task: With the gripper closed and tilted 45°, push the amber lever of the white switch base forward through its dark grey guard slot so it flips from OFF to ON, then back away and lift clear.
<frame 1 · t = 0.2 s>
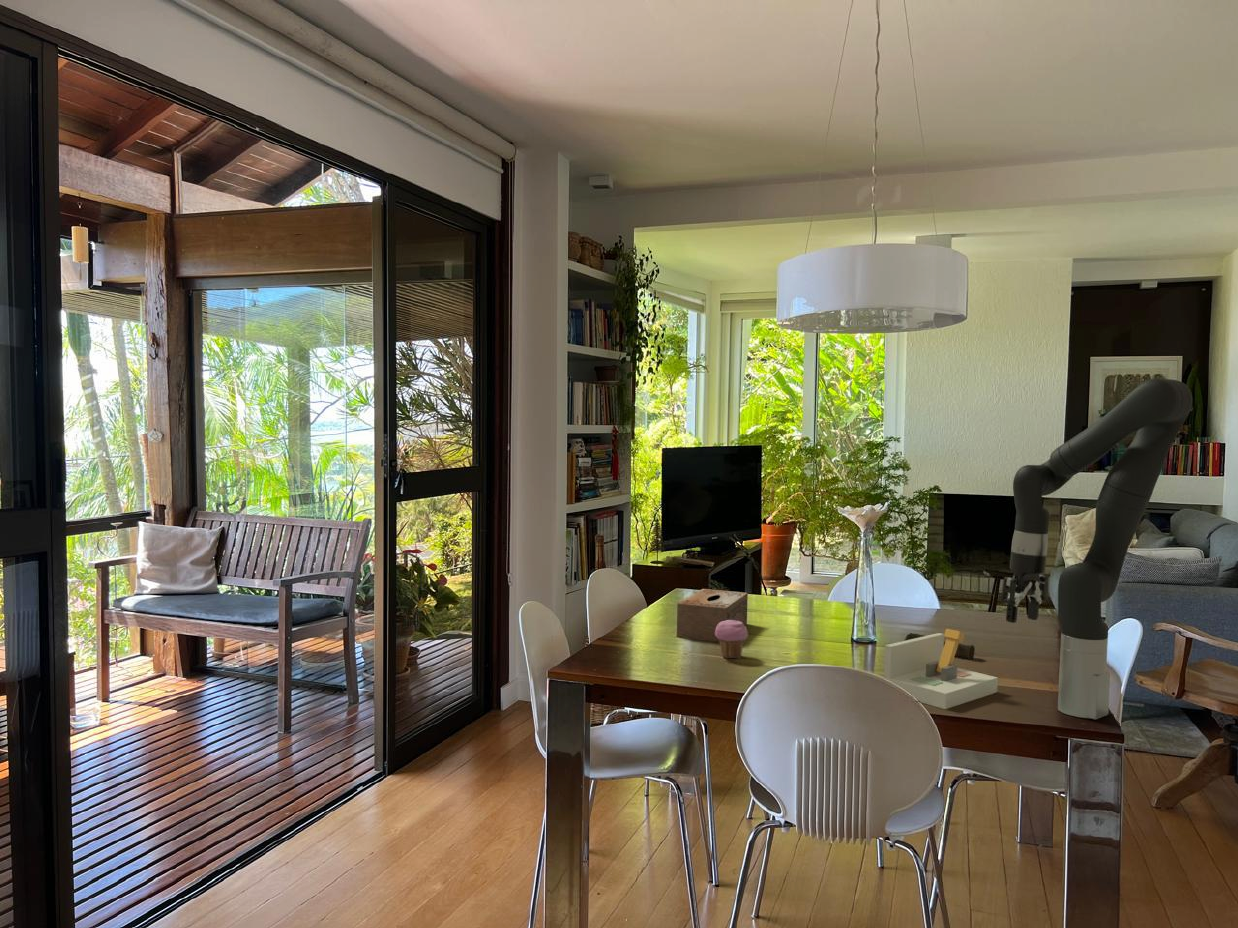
hand: (1021, 620, 214), 18 cm above the table, tool pointing down, fingers open, 8 cm apart
tissue box cover: (712, 631, 277), on the table
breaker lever: (949, 652, 219), point 9 cm above the table, hinge at -28.0°
white switch base: (940, 691, 218), on the table
cupcake: (730, 657, 246), on the table
hand tool: (937, 655, 254), on the table
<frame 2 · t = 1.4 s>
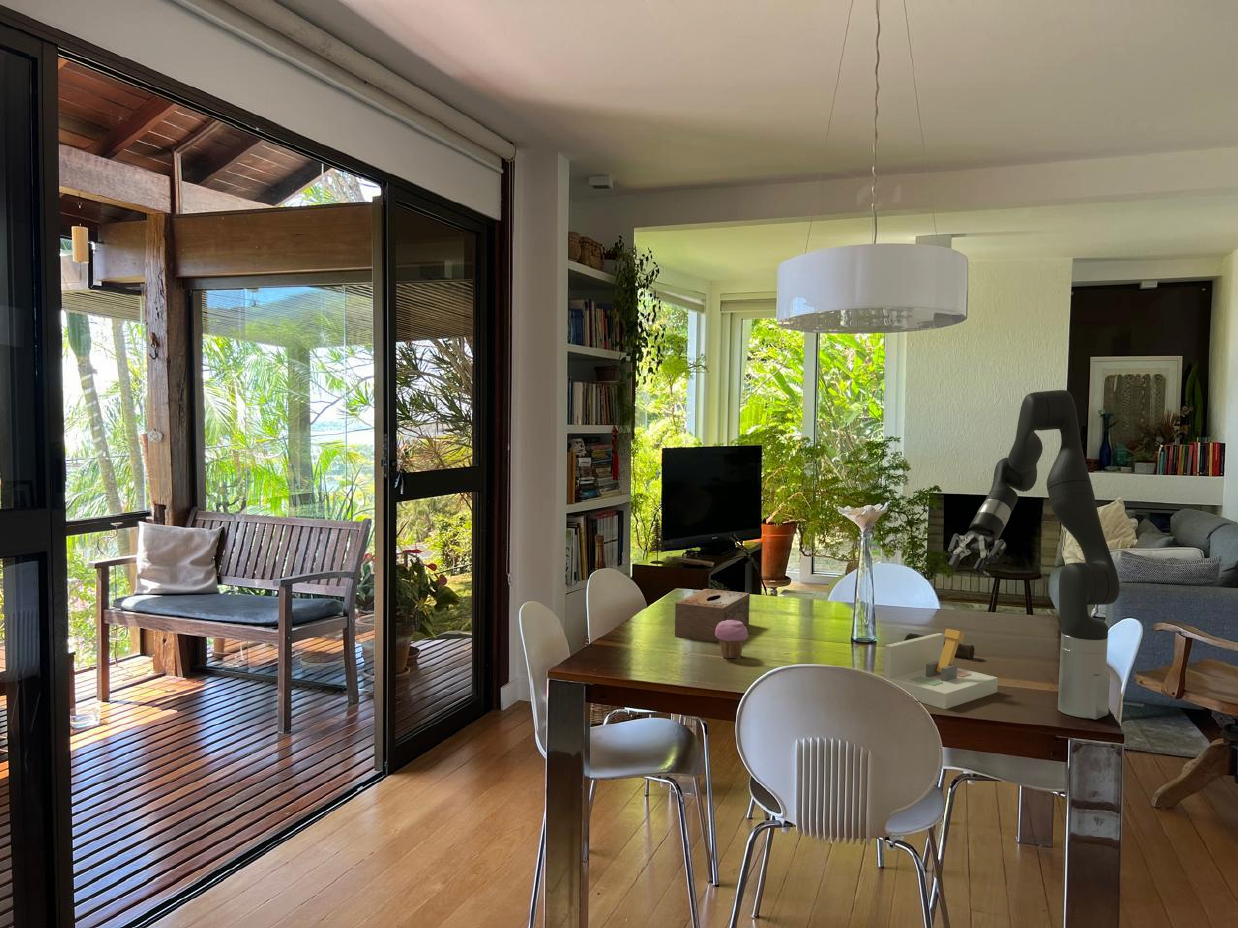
hand: (963, 570, 233), 26 cm above the table, tool tilted 45°, fingers open, 6 cm apart
nothing on the table moved.
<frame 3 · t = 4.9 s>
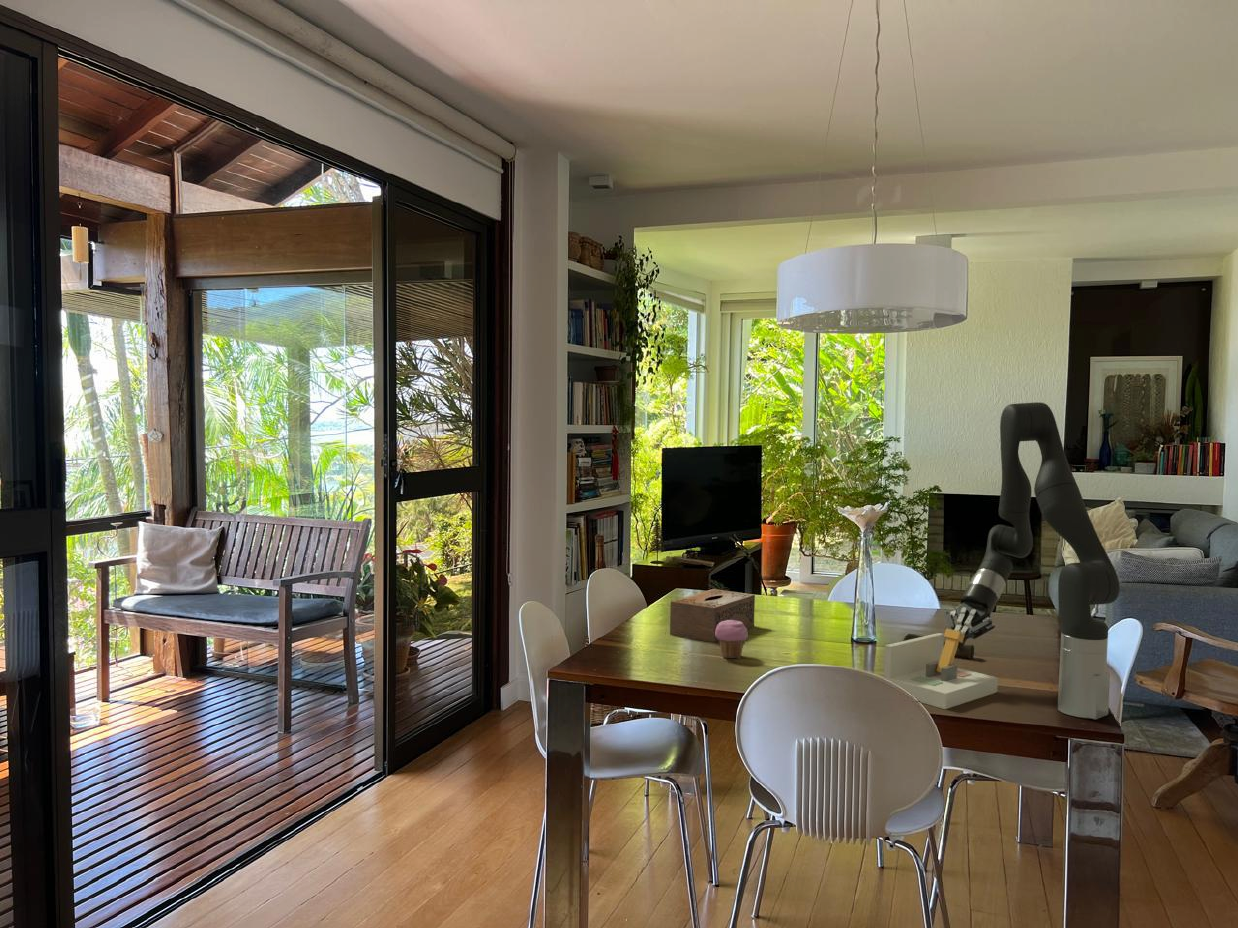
hand: (954, 648, 221), 10 cm above the table, tool tilted 45°, fingers closed
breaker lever: (949, 652, 219), point 9 cm above the table, hinge at -27.9°, touching gripper
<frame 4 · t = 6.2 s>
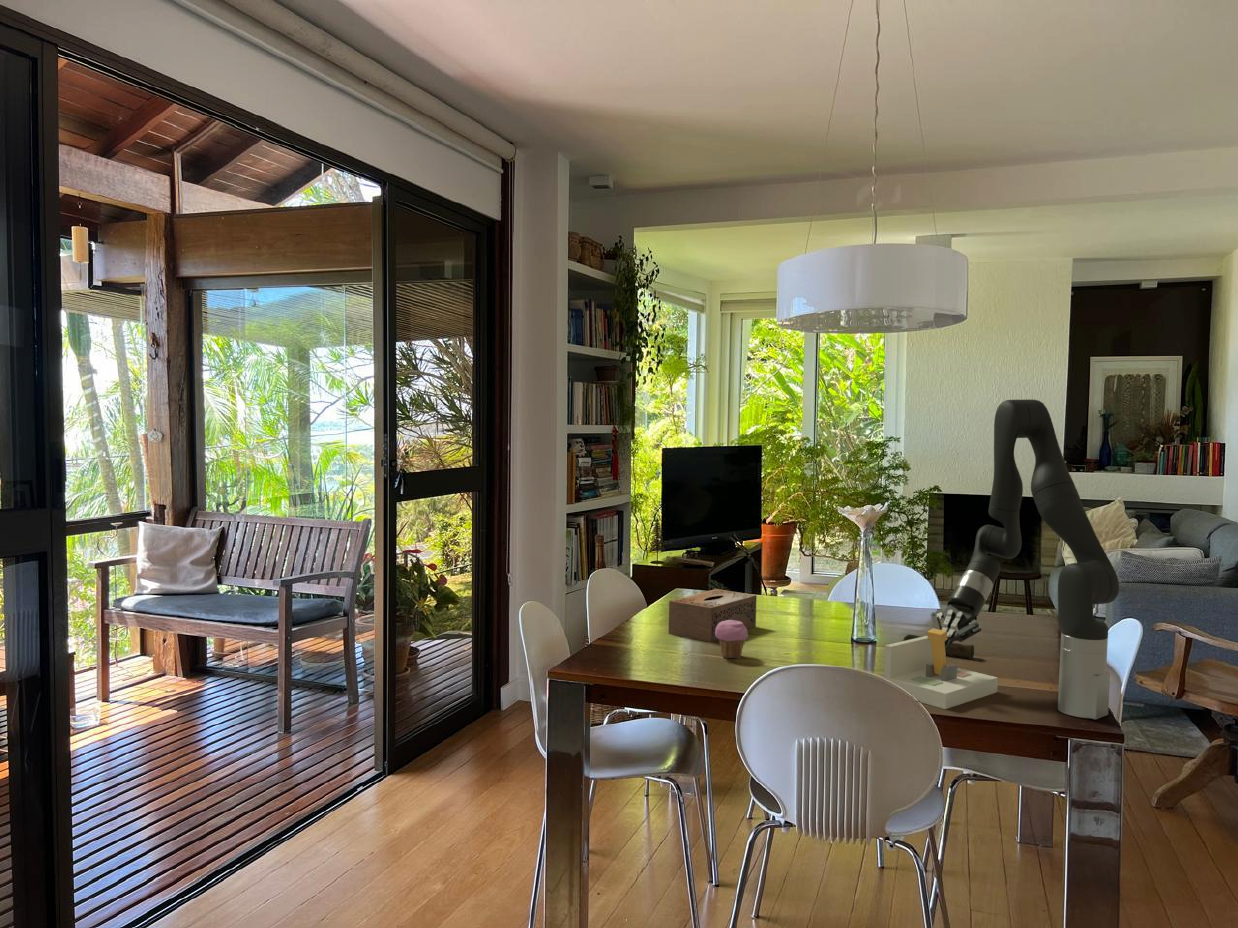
hand: (940, 651, 218), 10 cm above the table, tool tilted 45°, fingers closed
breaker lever: (938, 652, 217), point 10 cm above the table, hinge at 12.7°, touching gripper
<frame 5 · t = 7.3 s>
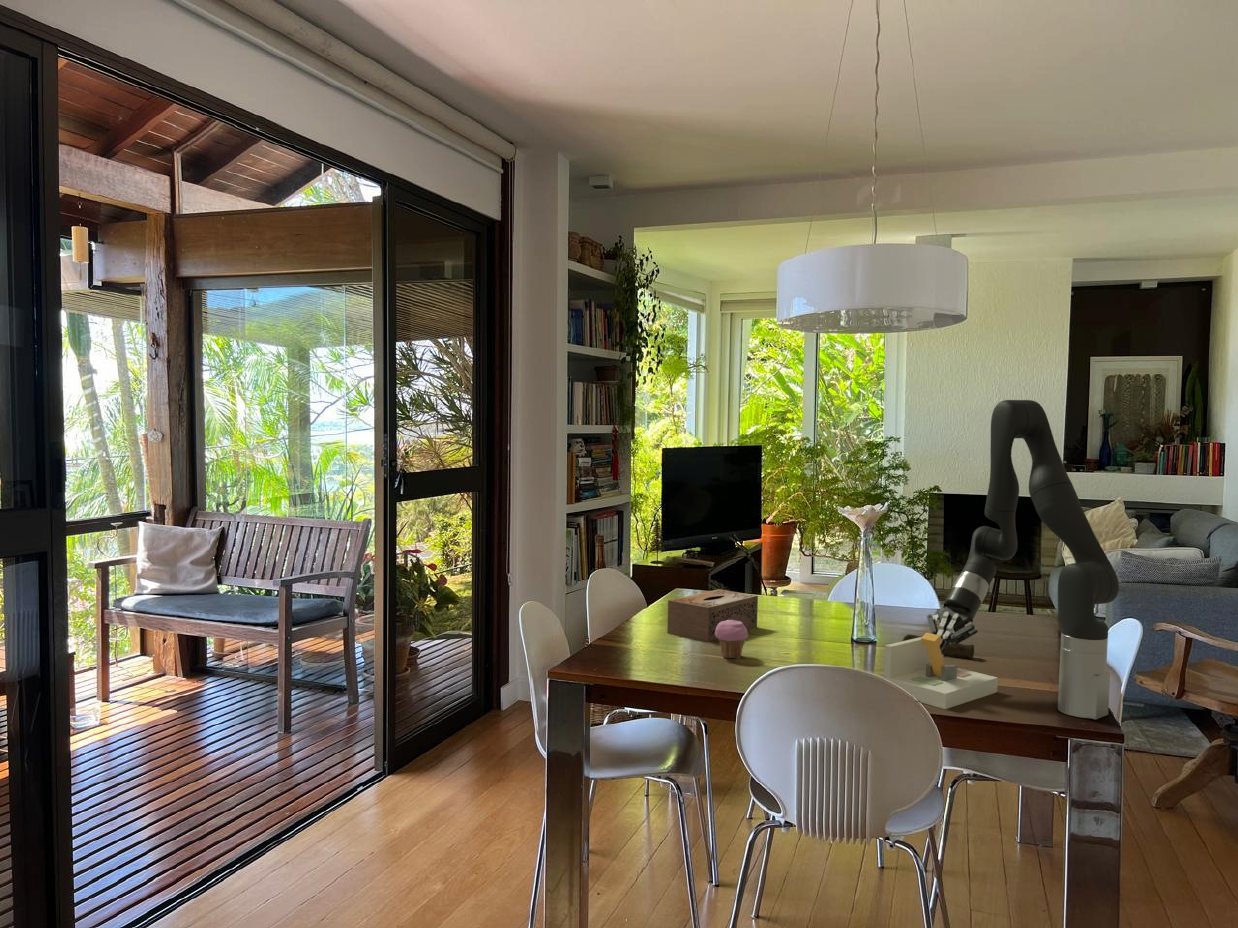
hand: (936, 653, 217), 9 cm above the table, tool tilted 45°, fingers closed
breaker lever: (935, 655, 216), point 9 cm above the table, hinge at 26.4°, touching gripper
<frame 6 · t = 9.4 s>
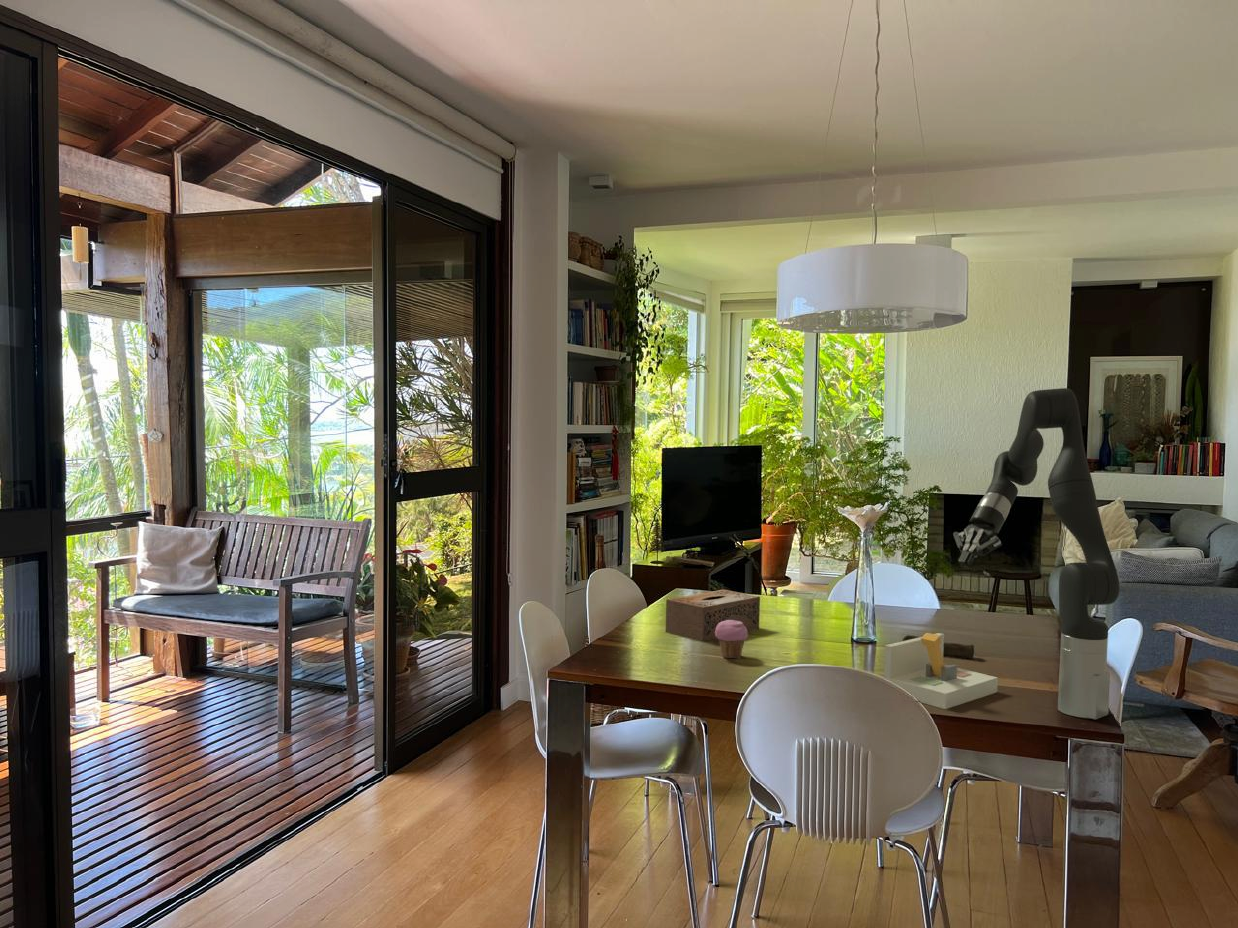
hand: (962, 565, 232), 28 cm above the table, tool tilted 45°, fingers closed
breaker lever: (935, 655, 216), point 9 cm above the table, hinge at 26.5°
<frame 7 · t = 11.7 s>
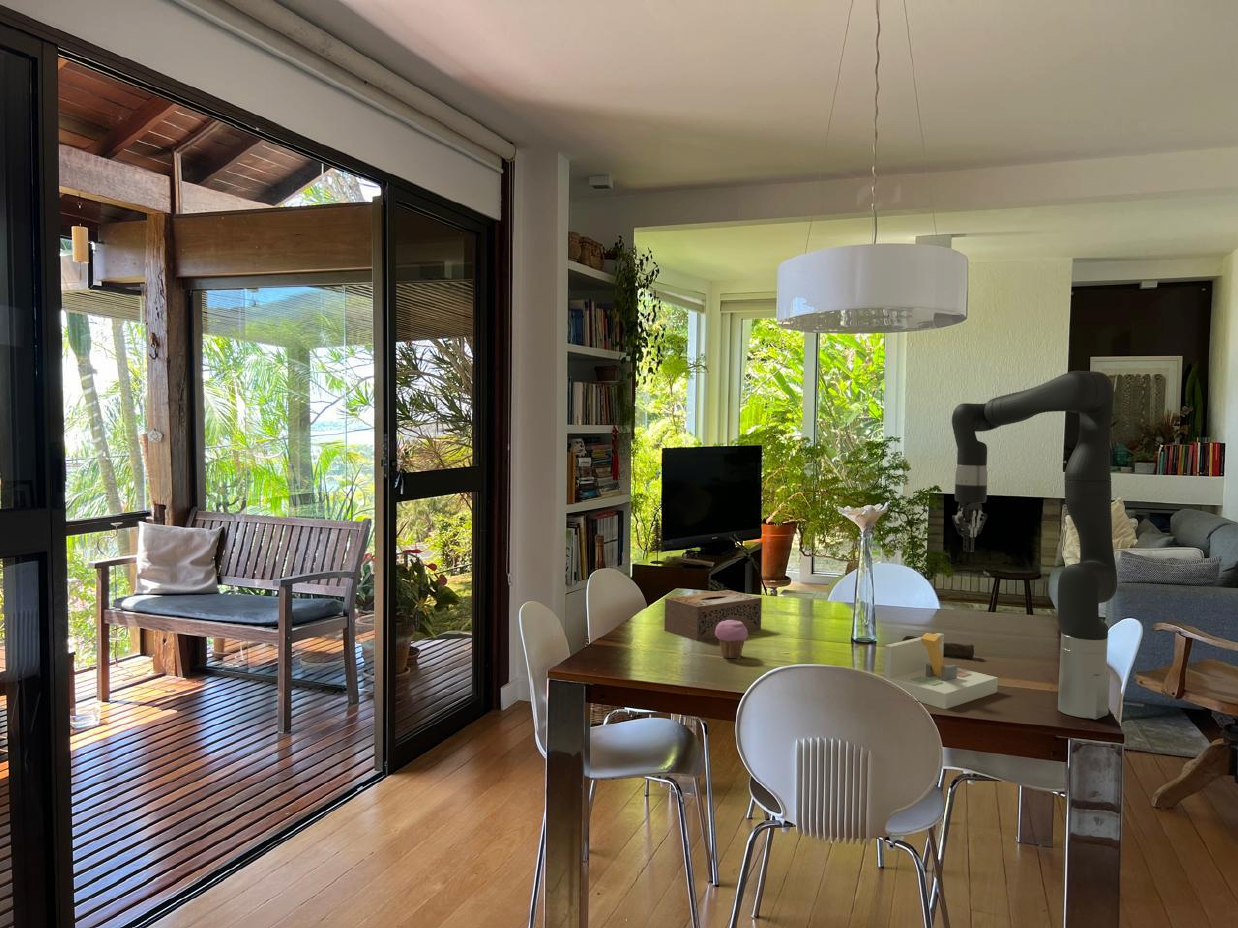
hand: (968, 551, 233), 31 cm above the table, tool pointing down, fingers closed
at the end: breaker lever at +26° (first picture: -28°) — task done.
